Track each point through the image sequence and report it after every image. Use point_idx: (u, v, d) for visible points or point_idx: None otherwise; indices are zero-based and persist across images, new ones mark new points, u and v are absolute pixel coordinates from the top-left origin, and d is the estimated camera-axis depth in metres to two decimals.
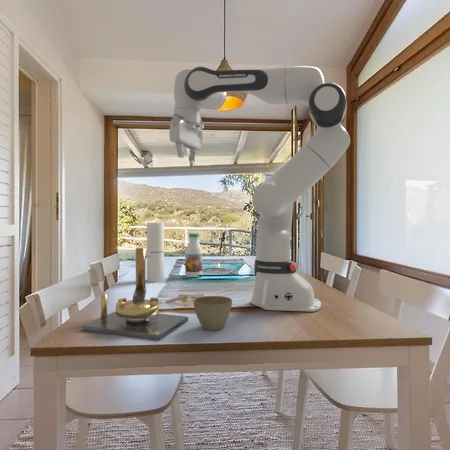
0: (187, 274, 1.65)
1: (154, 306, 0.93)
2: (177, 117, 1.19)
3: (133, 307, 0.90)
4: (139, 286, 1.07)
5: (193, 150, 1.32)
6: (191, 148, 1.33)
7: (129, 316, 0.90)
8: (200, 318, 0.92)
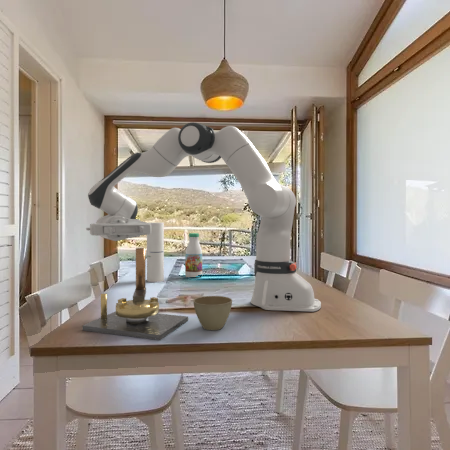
0: (187, 274, 1.65)
1: (154, 306, 0.93)
2: None
3: (133, 307, 0.90)
4: (139, 286, 1.07)
5: None
6: (138, 230, 1.25)
7: (129, 316, 0.90)
8: (200, 318, 0.92)
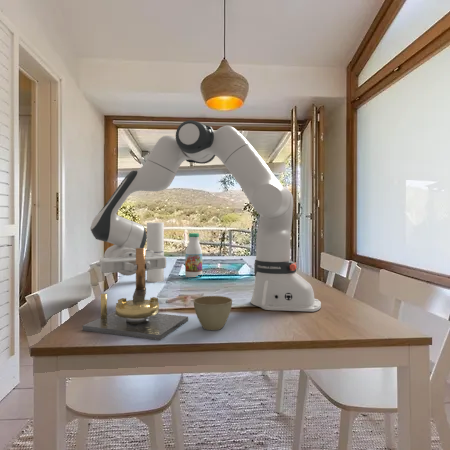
0: (187, 274, 1.65)
1: (154, 306, 0.93)
2: None
3: (133, 307, 0.90)
4: (139, 286, 1.07)
5: None
6: None
7: (129, 316, 0.90)
8: (200, 318, 0.92)
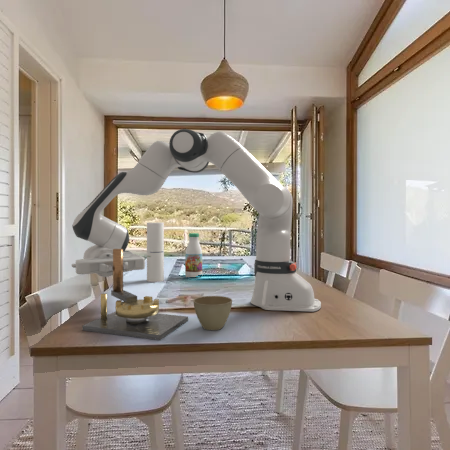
0: (187, 274, 1.65)
1: (158, 303, 0.96)
2: None
3: (144, 306, 0.91)
4: (119, 287, 1.04)
5: (123, 264, 1.09)
6: None
7: (140, 316, 0.90)
8: (200, 318, 0.92)
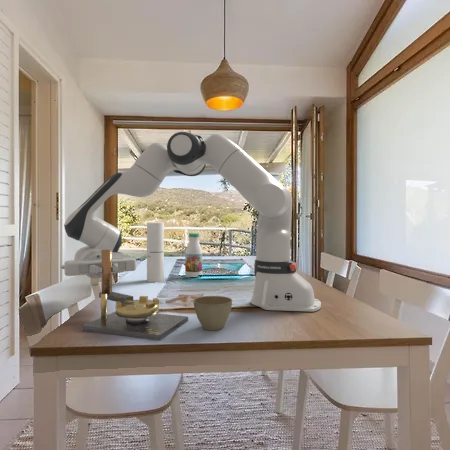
0: (187, 274, 1.65)
1: (158, 302, 0.97)
2: None
3: (150, 305, 0.92)
4: (109, 289, 1.02)
5: None
6: None
7: (146, 315, 0.91)
8: (200, 318, 0.92)
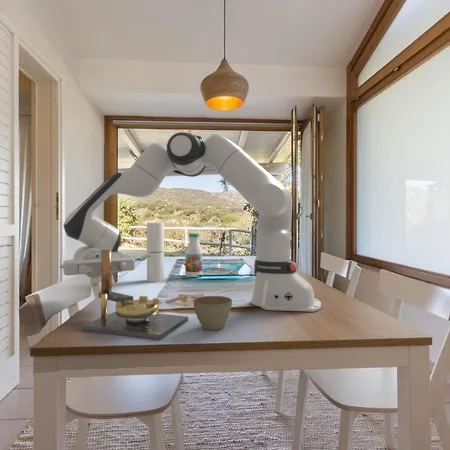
0: (187, 274, 1.65)
1: None
2: None
3: (150, 305, 0.92)
4: (109, 289, 1.02)
5: None
6: None
7: (146, 315, 0.91)
8: (200, 318, 0.92)
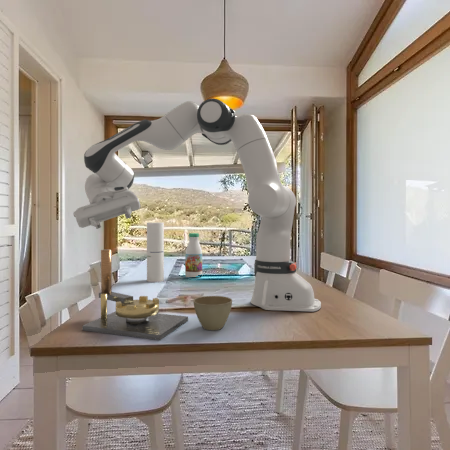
0: (187, 274, 1.65)
1: None
2: None
3: (150, 305, 0.92)
4: (109, 289, 1.02)
5: (126, 209, 1.17)
6: (126, 210, 1.18)
7: (146, 315, 0.91)
8: (200, 318, 0.92)
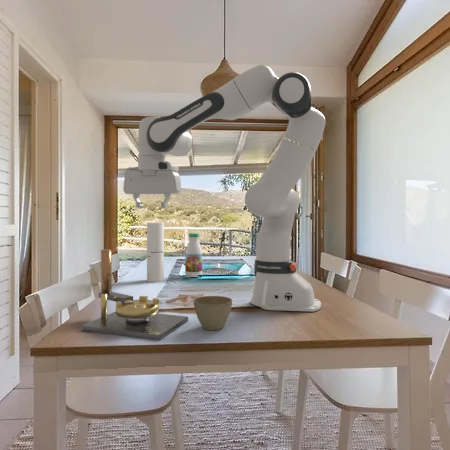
0: (187, 274, 1.65)
1: None
2: (129, 171, 1.25)
3: (150, 305, 0.92)
4: (109, 289, 1.02)
5: None
6: None
7: (146, 315, 0.91)
8: (200, 318, 0.92)
